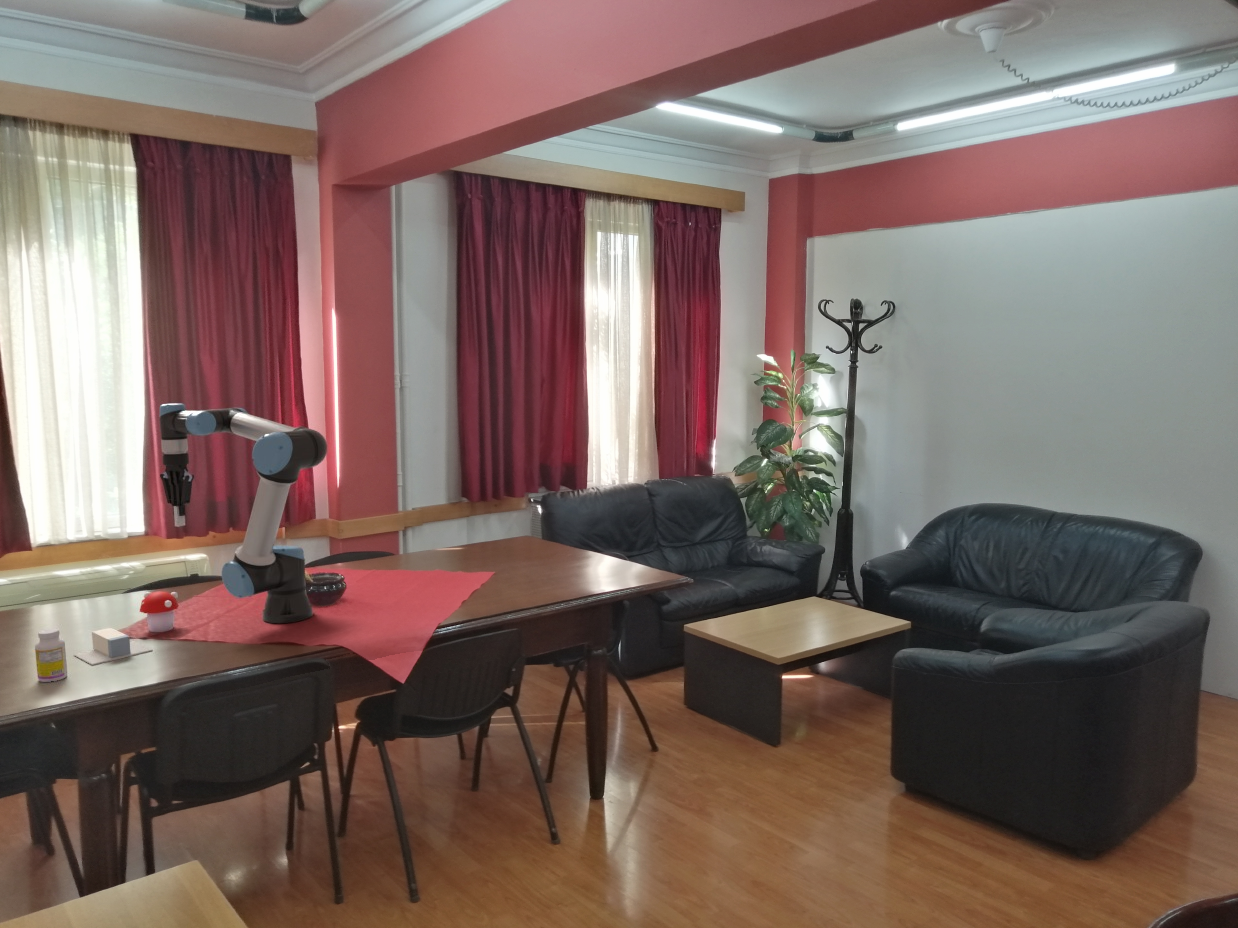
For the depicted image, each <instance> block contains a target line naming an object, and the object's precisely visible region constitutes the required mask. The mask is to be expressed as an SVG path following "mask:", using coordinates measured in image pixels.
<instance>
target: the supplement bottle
mask: <svg viewBox="0 0 1238 928" xmlns="http://www.w3.org/2000/svg"><path fill="white" fill-rule="evenodd" d="M60 634H61V633H60V629H59V628H46V629H41V630H39V631H38V634H37V635H38V638H39V640H38V641H37V642H36V643H35V645H34V652H35V661H36V673H37V680H38V681H39V682H41V683H52V682H51V681H54V682H58V681H61V680H64V679H65V678H66V677H67V676H68V665H67V654H66V652H67V651H66V642H65V640H64V639H63V638H61V637H60ZM57 680H58V681H57Z"/></svg>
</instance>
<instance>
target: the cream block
mask: <svg viewBox="0 0 1238 928" xmlns="http://www.w3.org/2000/svg"><path fill="white" fill-rule="evenodd" d="M91 638H92V639H91V640H92V650H97V651H99V652H101V653H103V654H105V655H107V656H109V657H111V658H114V657H118V656H123V655H127V654H131V652H130V641H131V640H130V636H129V635H128V634H125V633H123V632H121V631H119V630H116V629H114V628H112V627H106V628H102V629H98V630H94V631H91Z"/></svg>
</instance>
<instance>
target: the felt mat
mask: <svg viewBox="0 0 1238 928" xmlns="http://www.w3.org/2000/svg"><path fill="white" fill-rule="evenodd" d="M130 652H131V654H127V655H123V656H118V657H114V658H111V657H109V656H107V655H105V654H103V653H101V652H99V651H97V650H95V649H91V650H86V651H83V652H78V653H74V654H73V656H74V657H75V656H76V658H77V657H78V658H77V659H79V660H81V659H82V660H81V661H83V662H85V663H86V662H87V664H88V663H89V665H90V666H96V665H100V664H104V663H108V662H112V661H113V662H114V661H116V660H120V659H123V658H129V657H133V656H138V655H141V654H145V653H149V652H153V649H152V648H150V647H149V646H145V645H143V644H142V643H139V642H137V641H135V640H130Z"/></svg>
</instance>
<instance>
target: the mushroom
mask: <svg viewBox="0 0 1238 928" xmlns="http://www.w3.org/2000/svg"><path fill="white" fill-rule="evenodd" d="M178 597H179V594H178V592H177V591H176V592H175V591H173V592H171V593H169V592H166V591H164V590H160V591H159V590H157V591H154V592H150V591H146V592H145V593H144V594H143V599H142V600H141V604H140V608H139V612H140V613H143V614H146V622H147V625H148V630H149V632H151V633H164V632H168V631H171V630H172V629H174V626H175V617H176V616H175V612H174V610H177V609H178V608H179V603H178V600H177V599H178Z"/></svg>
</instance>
